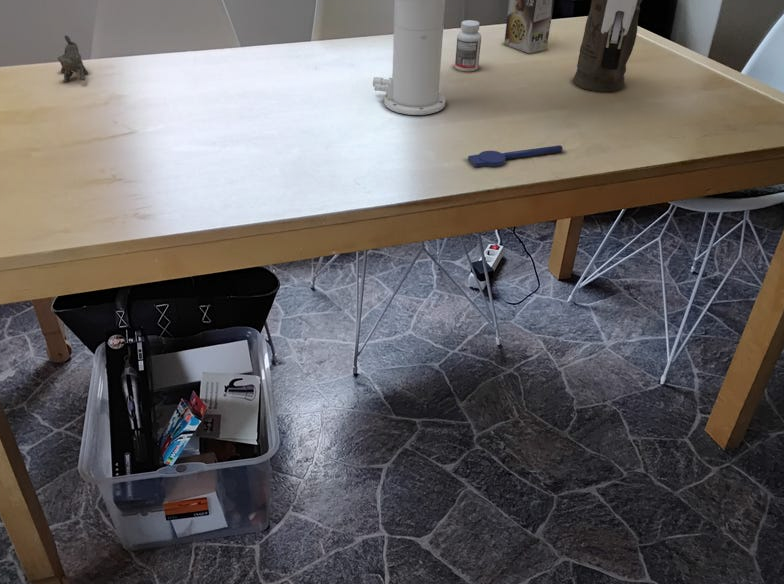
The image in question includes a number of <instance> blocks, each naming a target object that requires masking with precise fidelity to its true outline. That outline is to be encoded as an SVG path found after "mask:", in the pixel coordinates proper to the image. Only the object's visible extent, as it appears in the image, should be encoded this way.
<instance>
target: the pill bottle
mask: <svg viewBox="0 0 784 584" xmlns="http://www.w3.org/2000/svg"><path fill="white" fill-rule="evenodd" d="M460 30H461V31H459V32H458V34H457V37H456V50H455V59H454V67H455V69H456V70H458V71H462V72H474V71H476V70H477V69H479V63H480V55H481V53H480V52H481V43H482V34H481V33H480V32H479V31H480V22H479V21H478V20H472V19H467V20H463V21H461V24H460Z"/></svg>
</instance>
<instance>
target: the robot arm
mask: <svg viewBox="0 0 784 584" xmlns="http://www.w3.org/2000/svg"><path fill="white" fill-rule="evenodd" d="M636 4H637V0H607V4H606V9H605V14H604V19H603V24H602V29H601V32H602V34H604V32H608V30H609V33H608V39H607V44H606V45H605V48H604V53H603V58H602V63H601V68H604V69H613V70H616V69H617V68H618V64H619V59H620V55H621V50H622V46H621V44H622V40H623V36H624V35H626V34H627V32H628V30H629V27H630V24H631V21H632V18H633V15H634V11H635V8H636ZM393 5H394V6H393V7H394V9H393V10H394V11H393V44H392V47H393V48H392V50H393V51H392V75H391V77H388V78H384V77H378V76H374V77H373V80H372V87H373V88H374V91H375V92H377V91H378V92H385V93H386V94H385V95H384V96H383V104H384V106H385V107H386V108H387V109H388V110H390V111H393V112H395V113H398V114H402V115H411V116H424V115H430V114H434V113H438V112H440V111H441V110H443V109H444V108H445V107H446V101H447V100H446V97H445V95H443V94H442V93H440V80H441V79H440V78H441V65H442V53H443V52H442V51H443V37H444V25H445V24H444V23H445V22H444V21H445V9H446V0H394V4H393Z"/></svg>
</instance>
